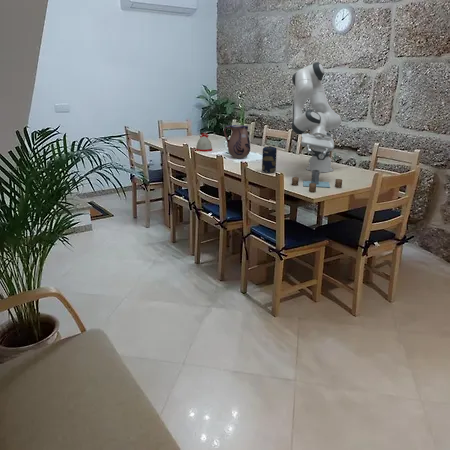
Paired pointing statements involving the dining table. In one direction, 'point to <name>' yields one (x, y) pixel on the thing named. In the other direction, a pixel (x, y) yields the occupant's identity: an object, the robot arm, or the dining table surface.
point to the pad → (321, 184)
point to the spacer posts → (313, 186)
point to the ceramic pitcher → (238, 141)
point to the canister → (269, 159)
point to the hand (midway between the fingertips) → (316, 153)
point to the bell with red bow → (204, 143)
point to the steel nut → (315, 176)
